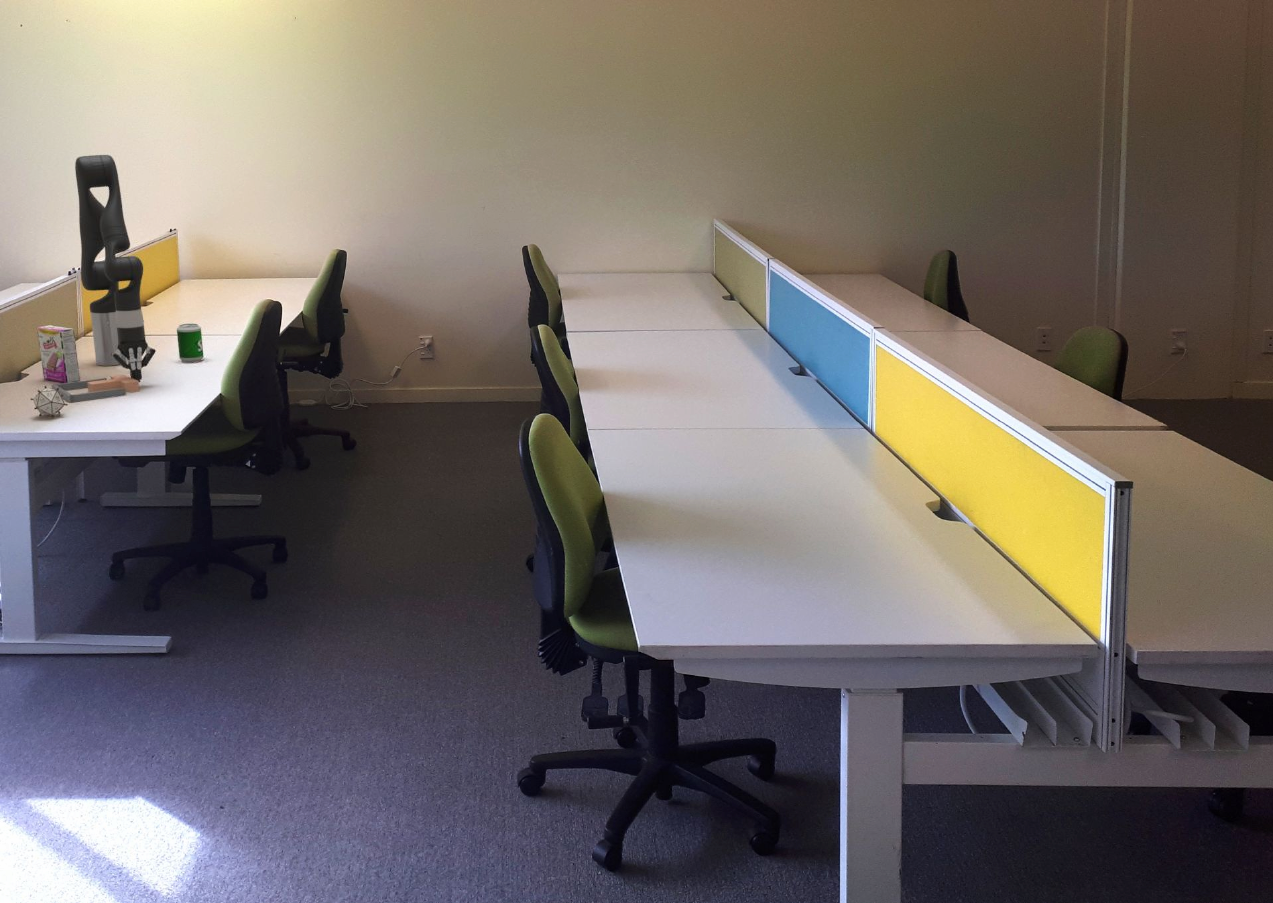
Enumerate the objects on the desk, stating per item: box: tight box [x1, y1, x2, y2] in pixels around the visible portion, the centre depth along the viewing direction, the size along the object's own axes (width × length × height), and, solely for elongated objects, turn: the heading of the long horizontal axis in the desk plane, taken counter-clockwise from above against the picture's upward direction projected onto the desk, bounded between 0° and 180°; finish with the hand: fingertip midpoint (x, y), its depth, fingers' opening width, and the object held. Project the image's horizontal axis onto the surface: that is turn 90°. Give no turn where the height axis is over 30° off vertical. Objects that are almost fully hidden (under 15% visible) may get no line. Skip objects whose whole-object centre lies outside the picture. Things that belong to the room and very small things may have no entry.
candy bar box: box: [36, 324, 81, 384], centre depth 371 cm, size 11×5×16 cm, turn 62°
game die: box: [30, 385, 69, 419], centre depth 330 cm, size 9×8×10 cm
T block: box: [87, 374, 140, 393], centre depth 360 cm, size 12×12×3 cm
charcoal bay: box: [51, 377, 127, 403], centre depth 357 cm, size 18×16×2 cm
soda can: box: [176, 323, 204, 364], centre depth 401 cm, size 8×8×12 cm
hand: (136, 381), depth 365 cm, fingers closed
